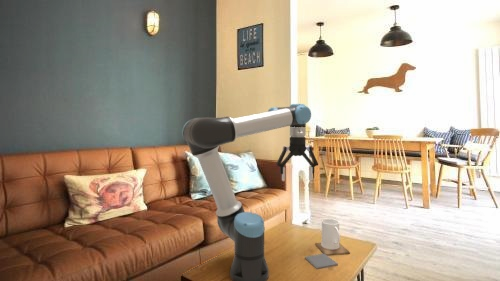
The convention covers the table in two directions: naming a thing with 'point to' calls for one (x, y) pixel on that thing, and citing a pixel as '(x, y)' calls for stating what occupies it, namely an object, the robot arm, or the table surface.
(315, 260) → the slate coaster
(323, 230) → the mug
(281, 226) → the table surface
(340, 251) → the walnut coaster
